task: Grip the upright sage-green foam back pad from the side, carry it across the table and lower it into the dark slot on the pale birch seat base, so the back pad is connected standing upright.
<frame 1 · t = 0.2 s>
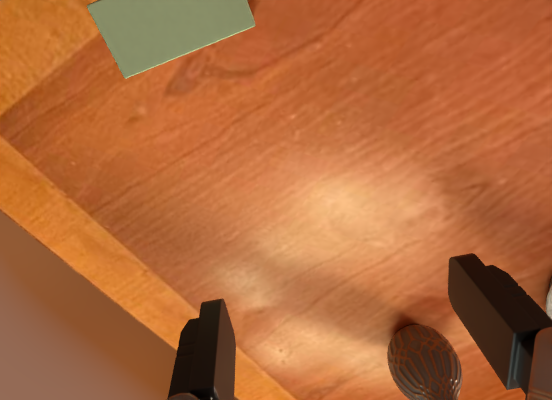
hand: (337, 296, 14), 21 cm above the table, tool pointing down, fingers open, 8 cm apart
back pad: (198, 11, 28), on the table
vase: (410, 336, 44), on the table
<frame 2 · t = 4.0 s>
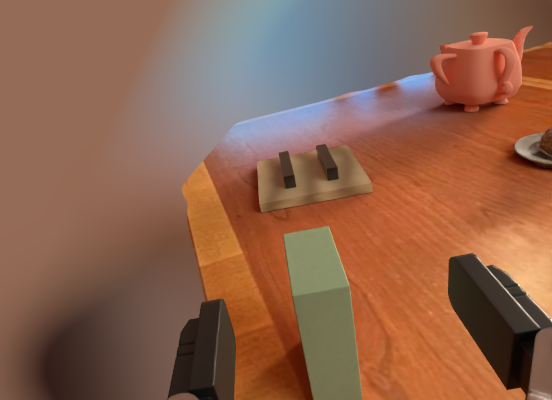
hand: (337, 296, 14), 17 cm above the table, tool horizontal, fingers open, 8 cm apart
seat base: (308, 179, 63), on the table
teapot: (476, 101, 83), on the table
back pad: (330, 367, 32), on the table
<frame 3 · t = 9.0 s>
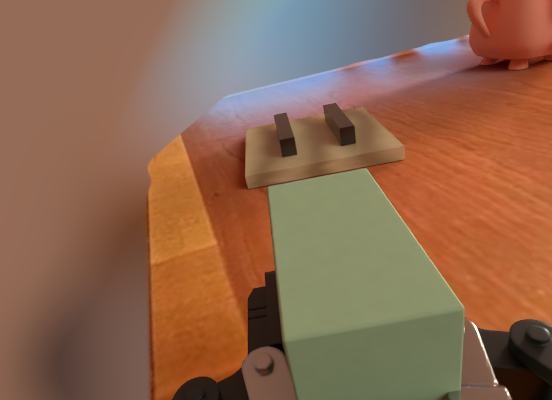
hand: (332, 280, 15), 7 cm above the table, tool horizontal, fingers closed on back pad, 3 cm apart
seat base: (314, 148, 47), on the table
teapot: (521, 60, 66), on the table
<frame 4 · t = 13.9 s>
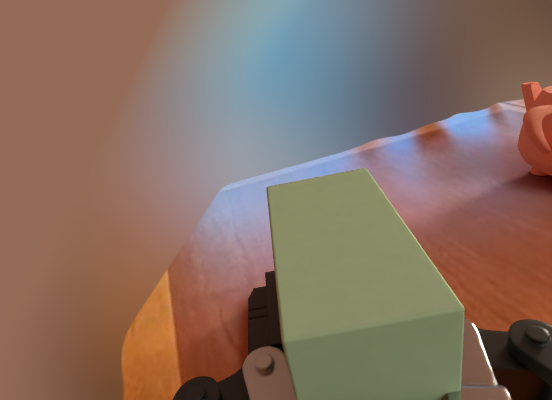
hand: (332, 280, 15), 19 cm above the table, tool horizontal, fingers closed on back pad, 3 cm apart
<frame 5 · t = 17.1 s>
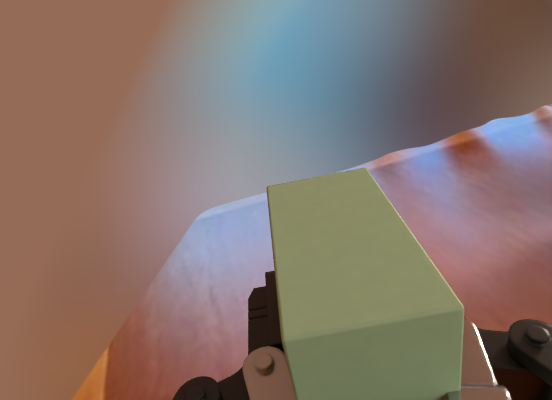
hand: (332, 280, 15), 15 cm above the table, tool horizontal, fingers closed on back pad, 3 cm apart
when the fingers open (8 cm above the table, at t = 19.3 s): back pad stays where it is, resting on seat base.
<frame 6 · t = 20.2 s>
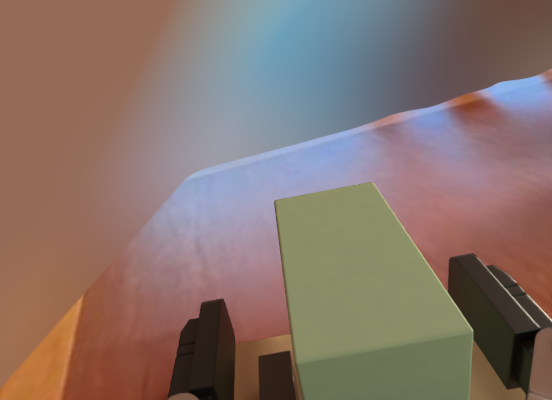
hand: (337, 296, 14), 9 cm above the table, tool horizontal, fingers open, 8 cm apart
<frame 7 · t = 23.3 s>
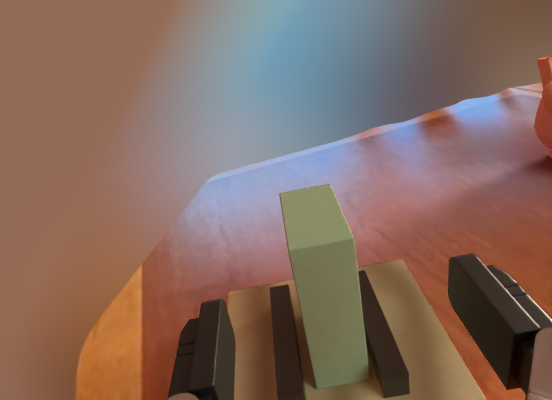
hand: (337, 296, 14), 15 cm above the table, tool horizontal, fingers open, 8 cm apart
seat base: (333, 357, 29), on the table
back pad: (333, 343, 29), point 1 cm above the table, touching seat base
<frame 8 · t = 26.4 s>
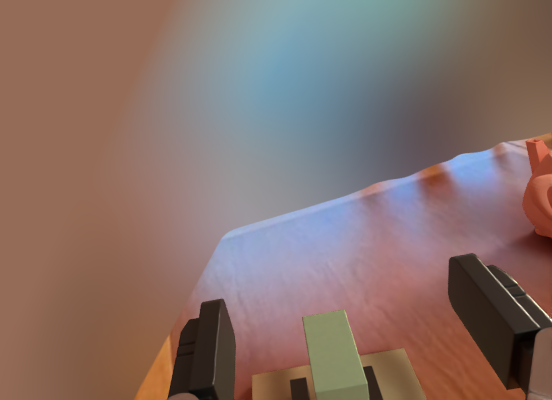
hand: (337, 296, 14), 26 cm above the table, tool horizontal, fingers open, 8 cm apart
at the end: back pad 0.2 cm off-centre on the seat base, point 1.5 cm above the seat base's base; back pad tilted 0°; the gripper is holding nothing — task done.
